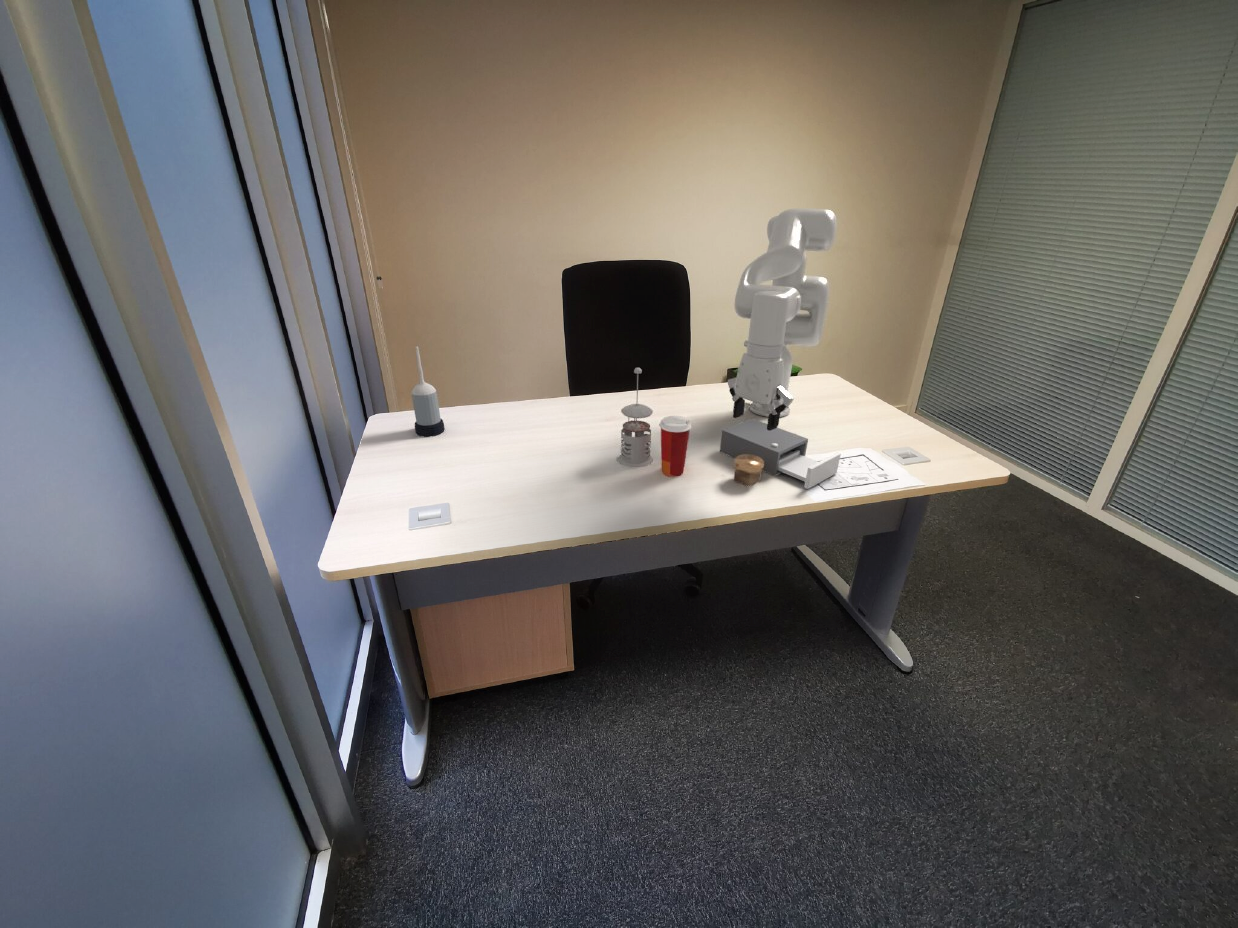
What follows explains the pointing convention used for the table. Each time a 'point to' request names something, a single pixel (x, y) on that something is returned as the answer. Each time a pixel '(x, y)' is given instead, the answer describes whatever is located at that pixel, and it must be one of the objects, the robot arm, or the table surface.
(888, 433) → the table surface
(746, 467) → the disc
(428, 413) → the grey bottle with nozzle
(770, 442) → the player
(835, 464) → the tray
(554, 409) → the table surface
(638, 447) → the french press
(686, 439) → the paper cup
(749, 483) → the brown wooden cube
